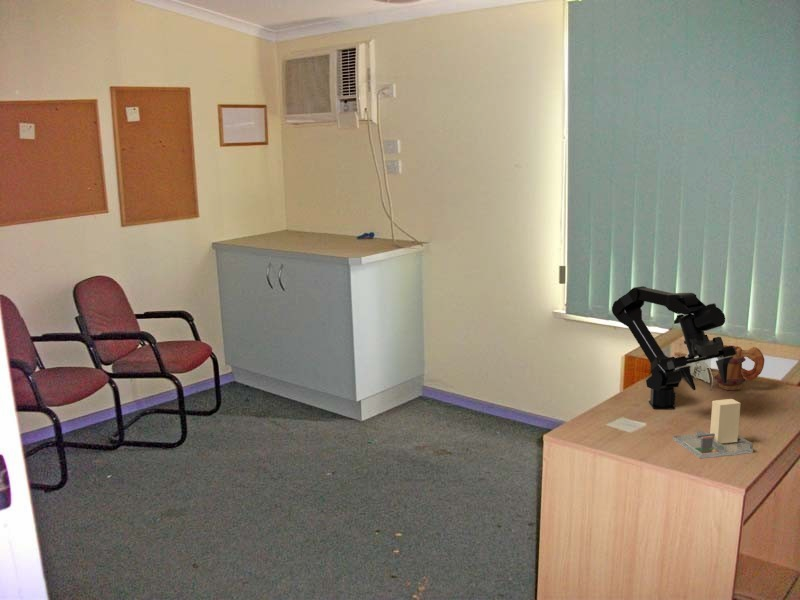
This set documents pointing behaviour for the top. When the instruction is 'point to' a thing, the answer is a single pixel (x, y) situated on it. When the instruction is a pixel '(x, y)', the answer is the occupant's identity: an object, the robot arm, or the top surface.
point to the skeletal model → (702, 369)
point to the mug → (737, 371)
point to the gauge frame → (713, 446)
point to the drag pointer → (706, 442)
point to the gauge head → (724, 421)
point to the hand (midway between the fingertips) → (709, 386)
